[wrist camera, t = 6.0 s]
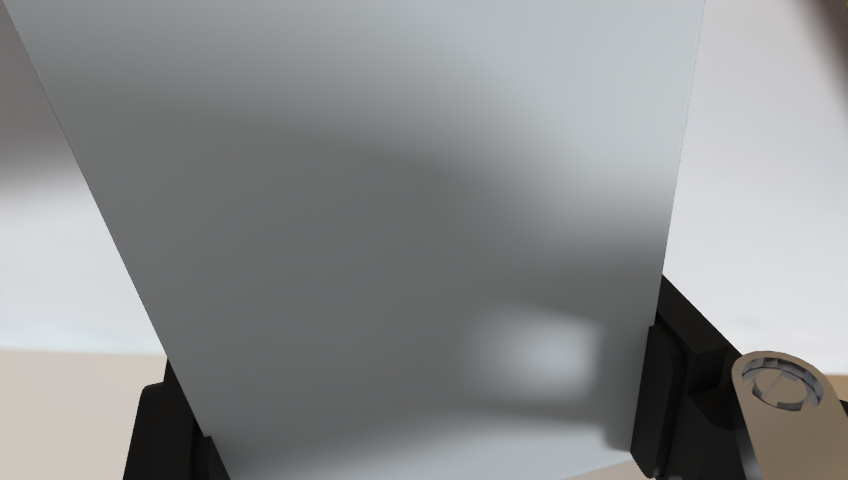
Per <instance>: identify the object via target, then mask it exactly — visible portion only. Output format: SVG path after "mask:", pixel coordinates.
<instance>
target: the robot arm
mask: <svg viewBox="0 0 848 480" xmlns="http://www.w3.org/2000/svg"><path fill="white" fill-rule="evenodd" d="M630 454H631V455H632V457H633V458H634V460H635V462H636V463H637V465H638V466H639V468H640V469H641V471H642V472H643V474H644V475H645V476H646V477H647V478H650V479H651V478H654V477H655V479H656V480H848V402H846V401H843V400H839V399H838V397H837V395H836V392H835V390H834V388H833V386H832V385H831V383H830V382H829V381H828V379H827V378H826V376H825V375H824V374H822V373H821V372H820V371H819V370H818V369H817V368H815V367H814V366H813V365H811V364H809V363H807V362H805V361H804V360H802V359H800V358H797V357H794V356H791V355H788V354H786V353H781V352H774V351H754V352H751V353H748V354H745V355H742V354H741V353H740V352H739V351H738V350H737V349H736V348H735V347H734V346H733V345H732V344H731V343H730V342H729V341H728V340H727V339H726V338H725V337H724V336H723V335H722V334H721V333H720V332H719V331H718V330H717V329H716V328H715V327H714V326H713V325H712V324H711V323H710V322H709V321H708V320H707V319H706V318H705V317H704V316H703V315H702V314H701V313H700V312H699V311H698V310H697V309H696V308H695V307H694V306H693V305H692V304H691V303H690V302H689V301H688V300H687V299H686V298H685V297H684V296H683V295H682V294H681V293H680V292H679V291H678V290H677V289H676V288H675V286H674V285H673V284H672V283H671V282H670V281H669V280H668V279H667V278H666V277H665V276H664V275H663V274H662V277H661V283H660V290H659V296H658V302H657V309H656V315H655V321H654V325H653V326H649V330H648V336H647V343H646V349H645V356H644V362H643V369H642V375H641V382H640V388H639V395H638V401H637V408H636V415H635V421H634V428H633V434H632V441H631V447H630ZM123 480H231V479H230V477H229V475H228V473H227V471H226V468H225V466H224V464H223V462H222V460H221V457H220V455H219V453H218V451H217V449H216V446H215V444H214V442H213V440H212V438H211V436H207V437H204V435H203V433H202V431H201V428H200V426H199V424H198V422H197V420H196V418H195V415H194V413H193V411H192V409H191V407H190V405H189V402H188V400H187V398H186V396H185V394H184V392H183V389H182V387H181V385H180V383H179V381H178V379H177V377H176V374H175V372H174V370H173V368H172V366H171V364H170V361H169V359H168V357H167V363H166V369H165V375H164V381H163V382H160V383H156V384H152V385H148V386H145V388H144V389H143V390H142V393H141V396H140V400H139V405H138V410H137V415H136V419H135V424H134V428H133V433H132V439H131V443H130V447H129V452H128V457H127V462H126V467H125V471H124V476H123Z"/></svg>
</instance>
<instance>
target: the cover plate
mask: <svg viewBox="0 0 848 480" xmlns="http://www.w3.org/2000/svg"><path fill="white" fill-rule="evenodd" d="M2 1H3V3H4V5H5V7H6V9H7V12H8V14H9V16H10V18H11V20H12V22H13V25H14V27H15V29H16V31H17V33H18V35H19V38H20V40H21V42H22V44H23V46H24V48H25V51H26V53H27V55H28V57H29V59H30V61H31V63H32V66H33V68H34V70H35V72H36V74H37V76H38V79H39V81H40V83H41V85H42V87H43V89H44V92H45V94H46V96H47V98H48V100H49V102H50V104H51V107H52V109H53V111H54V113H55V115H56V117H57V120H58V122H59V124H60V126H61V128H62V130H63V133H64V135H65V137H66V139H67V141H68V143H69V146H70V148H71V150H72V152H73V154H74V156H75V158H76V161H77V163H78V165H79V167H80V169H81V171H82V174H83V176H84V178H85V180H86V182H87V184H88V187H89V189H90V191H91V193H92V195H93V197H94V199H95V202H96V204H97V206H98V208H99V210H100V212H101V215H102V217H103V219H104V221H105V223H106V225H107V228H108V230H109V232H110V234H111V236H112V238H113V241H114V243H115V245H116V247H117V249H118V251H119V253H120V256H121V258H122V260H123V262H124V264H125V266H126V269H127V271H128V273H129V275H130V277H131V279H132V282H133V284H134V286H135V288H136V290H137V292H138V294H139V297H140V299H141V301H142V303H143V305H144V307H145V310H146V312H147V314H148V316H149V318H150V320H151V323H152V325H153V327H154V329H155V331H156V333H157V336H158V338H159V340H160V342H161V344H162V346H163V348H164V351H165V353H166V355H167V357H168V359H169V361H170V364H171V366H172V368H173V370H174V372H175V374H176V377H177V379H178V381H179V383H180V385H181V387H182V389H183V392H184V394H185V396H186V398H187V400H188V402H189V405H190V407H191V409H192V411H193V413H194V415H195V418H196V420H197V422H198V424H199V426H200V428H201V431H202V433H203V435H204V437H207V436H211V438H212V440H213V442H214V444H215V446H216V449H217V451H218V453H219V455H220V457H221V460H222V462H223V464H224V466H225V468H226V471H227V473H228V475H229V477H230V479H231V480H561V479H565V478H568V477H572V476H575V475H579V474H583V473H586V472H590V471H593V470H597V469H600V468H604V467H607V466H611V465H614V464H618V463H621V462H625V461H629V460H632V459H633V457H632V455H631V454H630V447H631V441H632V434H633V428H634V421H635V415H636V408H637V401H638V395H639V388H640V382H641V375H642V369H643V362H644V356H645V349H646V343H647V336H648V330H649V326H653V325H654V321H655V315H656V309H657V302H658V296H659V290H660V283H661V277H662V271H663V265H664V258H665V252H666V246H667V239H668V233H669V227H670V220H671V214H672V208H673V202H674V195H675V189H676V183H677V176H678V170H679V164H680V157H681V151H682V145H683V139H684V132H685V126H686V120H687V113H688V107H689V101H690V95H691V88H692V82H693V76H694V69H695V63H696V57H697V50H698V44H699V38H700V32H701V25H702V19H703V13H704V6H705V0H2Z"/></svg>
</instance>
